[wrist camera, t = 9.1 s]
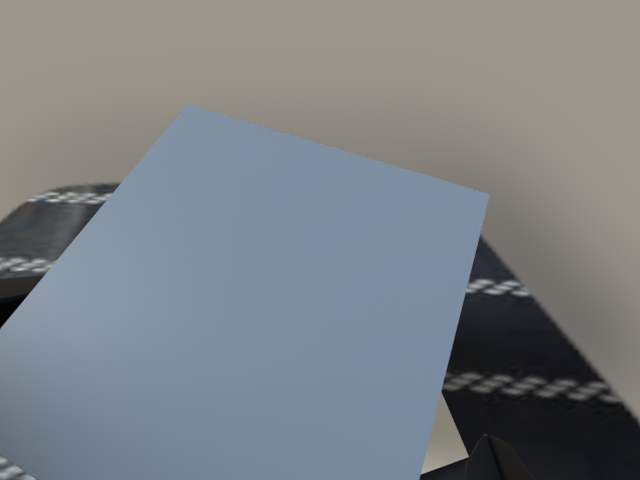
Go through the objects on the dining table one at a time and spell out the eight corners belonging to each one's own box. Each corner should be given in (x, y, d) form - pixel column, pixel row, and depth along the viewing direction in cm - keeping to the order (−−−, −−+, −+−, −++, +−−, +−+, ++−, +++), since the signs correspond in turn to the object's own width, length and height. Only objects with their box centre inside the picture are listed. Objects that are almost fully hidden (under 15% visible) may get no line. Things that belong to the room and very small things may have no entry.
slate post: (341, 447, 14) (364, 705, 2) (244, 397, 15) (-67, 408, 3) (378, 339, 16) (490, 194, 4) (289, 302, 17) (186, 104, 5)
